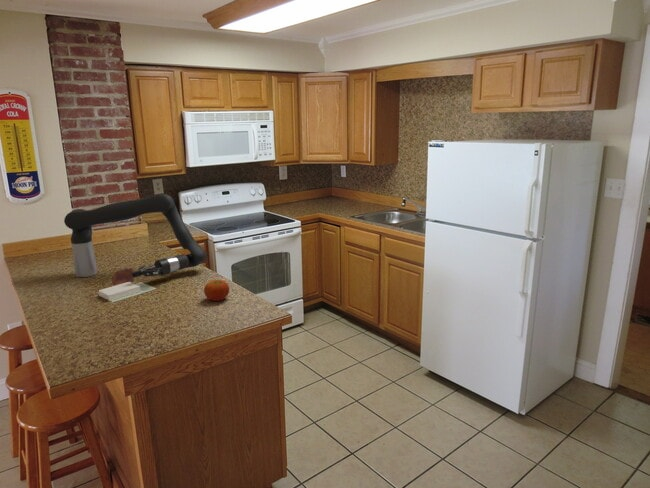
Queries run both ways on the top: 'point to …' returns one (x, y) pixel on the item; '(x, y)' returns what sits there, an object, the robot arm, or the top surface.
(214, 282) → the fruit
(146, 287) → the cutting board
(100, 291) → the white rectangular block
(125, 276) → the wooden tablet
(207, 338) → the top surface
